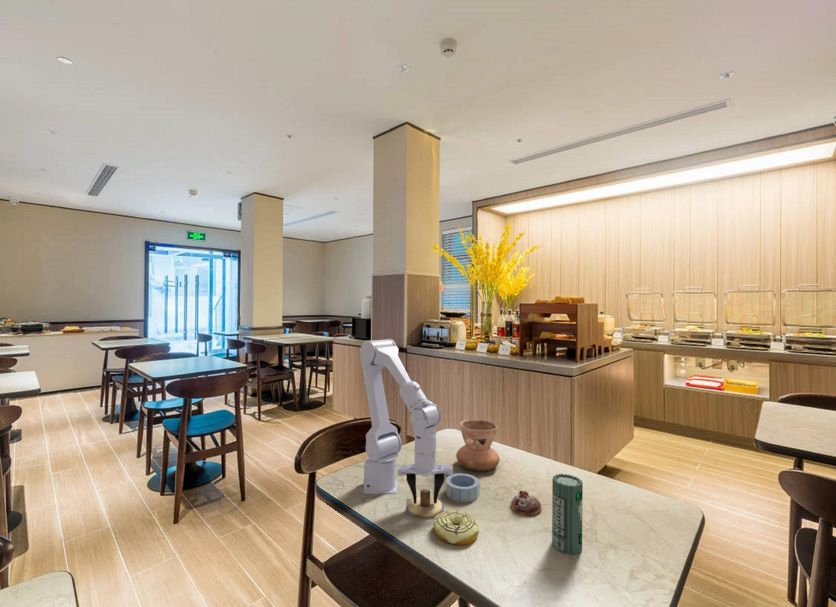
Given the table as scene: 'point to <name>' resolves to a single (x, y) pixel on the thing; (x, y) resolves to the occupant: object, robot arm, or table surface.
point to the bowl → (462, 487)
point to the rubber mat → (410, 516)
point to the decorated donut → (456, 527)
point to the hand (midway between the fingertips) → (425, 501)
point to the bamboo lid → (425, 505)
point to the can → (567, 513)
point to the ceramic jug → (478, 445)
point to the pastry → (526, 504)
